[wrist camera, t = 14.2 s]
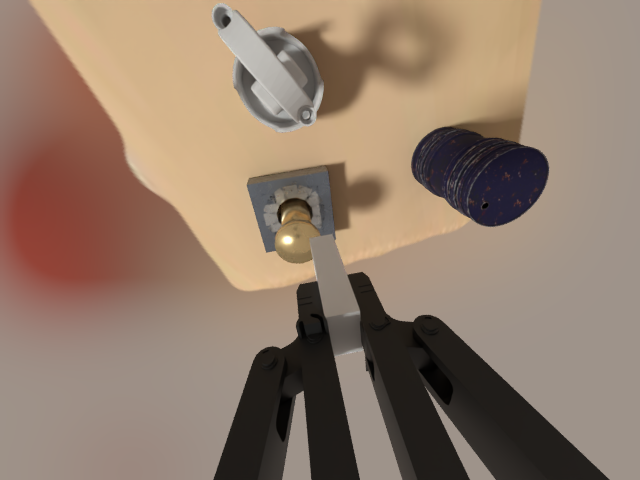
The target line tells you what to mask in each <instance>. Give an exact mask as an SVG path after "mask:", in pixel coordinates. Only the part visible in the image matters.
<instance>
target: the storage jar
mask: <svg viewBox="0 0 640 480" xmlns="http://www.w3.org/2000/svg"><path fill="white" fill-rule="evenodd" d="M411 168H412V173H413V175H414V177H415V179H416V180H417V181H418V182H419V183H420V184H422V185H423V186H424V187H425V188H426V189H428V190H429V191H430V192H432V193H433V194H435V195H437V196H439V197H442V198H445V199H446V201H447V202H448V203H449V204H450V206H452V207H453V208H454V209H456V210H458V211H459V212H460V213H462V214H463V215H465V216H467V217H469V218H471V219H472V220H473V221H475V222H476V223H478V224H480V225H483V226H487V227H495V226H500V225H504V224H507V223H509V222H511V221H513V220H515V219H517V218H518V217H520V216H521V215H523V214H524V213H525V212H526V211H527V210H529V209H530V208H531V207H532V206H533V204H534V203H535V202H536V201H537V200H538V198H539V197H540V195H541V194H542V192H543V190H544V188H545V186H546V183H547V180H548V175H549V165H548V161H547V158H546V156H545V155H544V154H543V153H542V152H541V151H539V150H537V149H535V148H532V147H528V146H524V145H521V144H519V143H516V142H513V141H509V140H504V139H501V138H484V137H483V136H481V135H480V134H478V133H475V132H471V131H468V130H464V129H456V128H452V127H442V128H438V129H436V130H434V131H432V132H430V133H429V134H427V135H426V136H425V137H424V138H423V139H422V140H421V141H420V143H419V144H418V145H417V147H416V149H415V151H414V153H413V157H412V162H411Z"/></svg>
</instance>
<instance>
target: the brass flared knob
mask: <svg viewBox="0 0 640 480" xmlns="http://www.w3.org/2000/svg"><path fill="white" fill-rule="evenodd" d="M318 236H320V232H319V230H318V229H317V227H316V226H315V225H314V224H312V222H311V218H310V213H309V208H308V203H307V201H306V200H303V199H300V198H297V197H296V198H290V199H286V200H285V201H284V202H283V203H282V217H281V227H280V228H279V229H278V231H277V233H276V236H275V249H276V251H277V253H278V255H279V256H280V257H281V258H282V259H284V260H285V261H287V262H290V263H305V262H308V261H310V260H312V259H313V257H312V252H311V246H310V240H309V238H313V237H318Z"/></svg>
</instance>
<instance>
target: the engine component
mask: <svg viewBox="0 0 640 480" xmlns="http://www.w3.org/2000/svg"><path fill="white" fill-rule="evenodd" d="M212 20H213V23H214V25H215V27H216V28H217V29H218V34H219V36H220V37H221V39H222V40H223V41H224V43H225V44H226V45H227V46H228V47H229V49H230V50H231V51H232V52H233V53H234V55H235V56H236V57H235V61H234V65H233V84H234V88H235V89H236V90H237V92H238V94H239V96H240V98H241V100H242V102H243V103H244V105H245V107H246V108H247V109H248V111H249V112H250V113H251V114H252V115H253V116H254V117H255V118H256V119H257V120H258V121H260V122H261V123H263V124H265V125H266V126H268V127H270V128H272V129H274V130H275V131H276V132H282V133H283V132H291V131H294V130H297V129H299V128H301V127H303V126H311V125H312V124H313V123H314V122H315V121H316V112H317V110H318V108H319V106H320V103H321V101H322V97H323V91H324V81H323V80H322V79H321V76H320V73H319V70H318V67H317V65H316V62H315V60H314V58H313V57H312V55H311V53H310V52H309V50H308V49H307V48H306V47H305V46H304V45H303V44H302V43H301V42H300V41H299V40H297V39H296V38H295V37H293V36H292V35H290V34H289V33H287V32H286V31H285V29H284V28H280V27H267V28H264V29H261V30H258V31H255V29H254V28H253V27H252V26H251V25H250V24H249V23H248V21H247V20H246V19H245V18H244V17H243V16H242V15H241V14H240V13H239V12H238V11H237V10H233V11H232V9H231V8H230V7H229V6H227V5H226V4H224V3H218V4H217V5H215V6H214V8H213V10H212Z"/></svg>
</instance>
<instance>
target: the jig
mask: <svg viewBox="0 0 640 480" xmlns="http://www.w3.org/2000/svg"><path fill="white" fill-rule="evenodd" d="M247 188H248V191H249V195H250V198H251V201H252V205H253V208H254V212H255V215H256V219H257V222H258V226H259V229H260V232H261V236H262V239H263V243H264V246H265V250H266V252H272V251H276V249H275V236H276V233H277V231H278V229H279V228H280V227H281V216H280V215H279V214H278V208H279V205H280V204H281V203H283V202H284V201H285V200H286V199H290V198H296V197H297V198H300V199H303V200H306V201H307V202H308V204H309V205H310V206H311V210H310V212H309V213H310V218H311V222H312V224H314V225H315V226H316V227H317V229H318V230H319V232H320V236H324V235H329V234H332V235H333V237H334V240H336V237H335V228H334V219H333V211H332V202H331V193H330V184H329V175H328V170H327V168H326V167H325V166H320V167H314V168H308V169H302V170H296V171H290V172H284V173H278V174H272V175H267V176H261V177H255V178H249V179H248V182H247Z"/></svg>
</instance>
